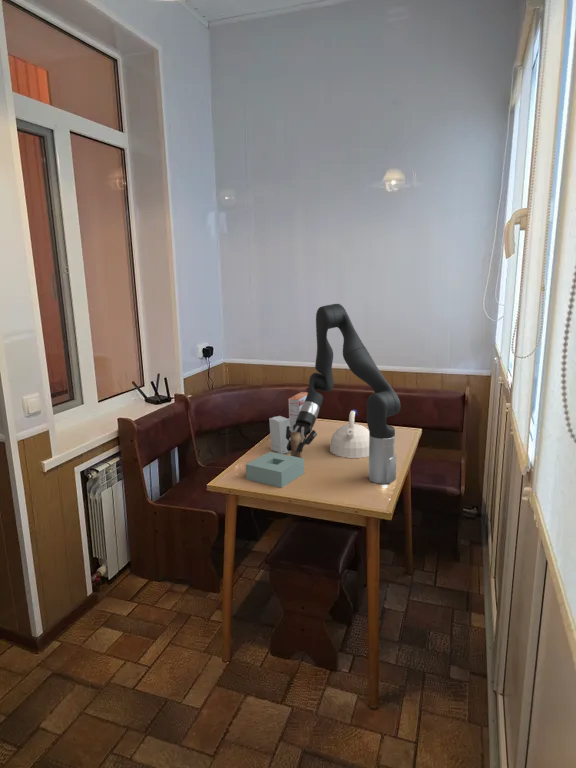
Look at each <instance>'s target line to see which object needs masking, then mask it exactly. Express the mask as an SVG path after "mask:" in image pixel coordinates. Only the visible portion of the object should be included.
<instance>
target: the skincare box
mask: <svg viewBox="0 0 576 768" xmlns="http://www.w3.org/2000/svg"><path fill="white" fill-rule="evenodd" d="M268 422H269V433H270V434H269V435H270V449H271V451H272V452H274V453H279V454H284V455H285V454H288V453H291V451H288V450H287V448H286V447H287V444H288V442H289V441H288V440H287V439H286V429H287V426H289V427H290V421H289V417H288V418H287V417H285V416H281V415H278V416H277V415H276V416H273V417H269V421H268Z"/></svg>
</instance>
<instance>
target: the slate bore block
mask: <svg viewBox="0 0 576 768" xmlns="http://www.w3.org/2000/svg"><path fill="white" fill-rule="evenodd" d="M245 474H246V475H245V476H246V478H245V480H248V481H253V482H256V483H259V484H264V485H269V486H271V487H277V488H279V489H282V488H284V487H285V486H287V485H288V484H290V483H291V482H293V481H294V480H297V478H299V477H301V476H302V475H305V458H303V457H301V458H299V457H294V456H291V455H288V454H285V453H284V454H279V453H277V452H275V451H269V452H266V453H265V454H263V455H260V456H258V457H257V458H255V459H253V460H251V461H250V462H247V463H246V464H245Z"/></svg>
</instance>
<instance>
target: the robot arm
mask: <svg viewBox="0 0 576 768" xmlns="http://www.w3.org/2000/svg"><path fill="white" fill-rule="evenodd" d="M354 327H355V326H354V325H353V323H352V321H351V318H350V316H349V314H348V312H347V311H346V309H345V307H344V306H343V305H342V304H340V303H332V304H326V305H322V306H320V307H318V309H317V310H316V314H315V329H316V330H315V332H316V333H315V335H316V357H315V363H314V364H315V365H314V368H315V371H316V372H313V373H312V374H311V375H310V377H309V379H308V390H307V393H308V394H307V397H306V399H305V401H304V404H303V405H302V407H301V410H300V412H299V414H298V417H297V419H296V423H295V425H294V426H293V427H289V426H287V429H286V439H287V440H288V441H289V442H288V444H287V447H286V448H287V450H288V451H291V435H290V433H291V432H292V431H293V430H294V431H293V432H300V437H301V443H299V445H298V448H297V452H298V453H300V452H301V453H302V451H303V450H304V447H305V446H306V445H308V446H309V445H311V444H312V442H313V441H314V439H315V437H317V435H318V434H317V432H316V431H315V429H313V428H314V425H315V423H316V421H317V418H318V416H319V412H320V408H321V407H322V404H323V401H324V396H323V394H322V393H320V392H319V391H321V392H325V393H329V392H331V391H332V390H333V388H334V383H335V382H334V381H335V380H334V375H333V369H332V368H333V360H334V352H333V348H332V346H331V344H330V342H329V340H328V331H329V330H331V329H335V328H338V329H339V330H340V333H341V334H342V337H343V345H342V357H343V360H344V361H345V363H346V365H347V366H348V368H349V370H350V371H351V372H352V374H353V375H354V376H355V377H357V378H359V379H360V380H362V381H363V382H364V383H366V384H367V385H368V386H369V387H370V388H371V389H372V391H373V392H374V393H371V394H370V395H369V396H368V398H367V401H366V423H367V429H368V430H369V456H368V480H369V481H370V482H373V483H375V484H381V485H382V484H383V485H384V484H387V485H388V484H389V485H390V484H392V483H393V482H394V481H395V480H396V479H397V477H396V475H397V454H395V443H396V441H395V440H396V439H395V438H396V437H395V436H396V429H395V427H394V426H392V425H390V424H387V418H389V417H392V416H396V415H397V414H398V413H400V411H401V407H402V405H401V401H400V398H399V395H398V394H397V393H396V391H395V390H394V389H393V387H392V386H391V385H390V383H389V382H388V381H387V380H386V378H385V377H384V375H383V374H382V372H381V371H380V369H379V367H378V366H377V365H376V364H377V363H375V361H374V359H373V358H372V356H371V354H370V352H369V351H368V350H367V349H368V348H366V346H365V345H364V343H363V341H362V340H361V338H360V336H359V334H358V333H357V331H356V330H355V328H354ZM309 433H310V435H309V436H308V437H307V435H308V434H309Z"/></svg>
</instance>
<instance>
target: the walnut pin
mask: <svg viewBox="0 0 576 768" xmlns="http://www.w3.org/2000/svg"><path fill="white" fill-rule="evenodd" d="M290 435H291V452H290V456H294V457H299V458H302V452H300V453H298V452H297V448H298V445H299V443H301V437H300V432H291V433H290Z"/></svg>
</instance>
